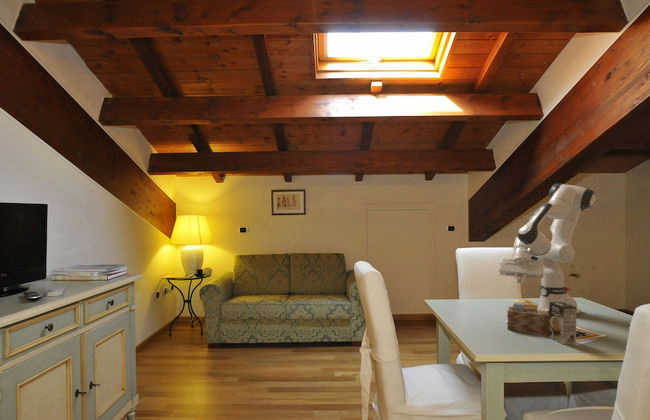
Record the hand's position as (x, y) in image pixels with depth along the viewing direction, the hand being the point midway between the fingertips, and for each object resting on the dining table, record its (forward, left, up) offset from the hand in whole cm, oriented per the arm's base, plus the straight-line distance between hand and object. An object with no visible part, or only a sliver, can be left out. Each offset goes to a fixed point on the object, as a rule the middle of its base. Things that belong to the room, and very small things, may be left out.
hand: (520, 282), depth 196 cm
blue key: (+5, +4, -13) cm, 14 cm away
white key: (-3, +12, -14) cm, 18 cm away
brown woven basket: (+1, +8, -21) cm, 22 cm away
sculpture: (-9, -8, -21) cm, 24 cm away
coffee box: (-1, +25, -21) cm, 33 cm away
